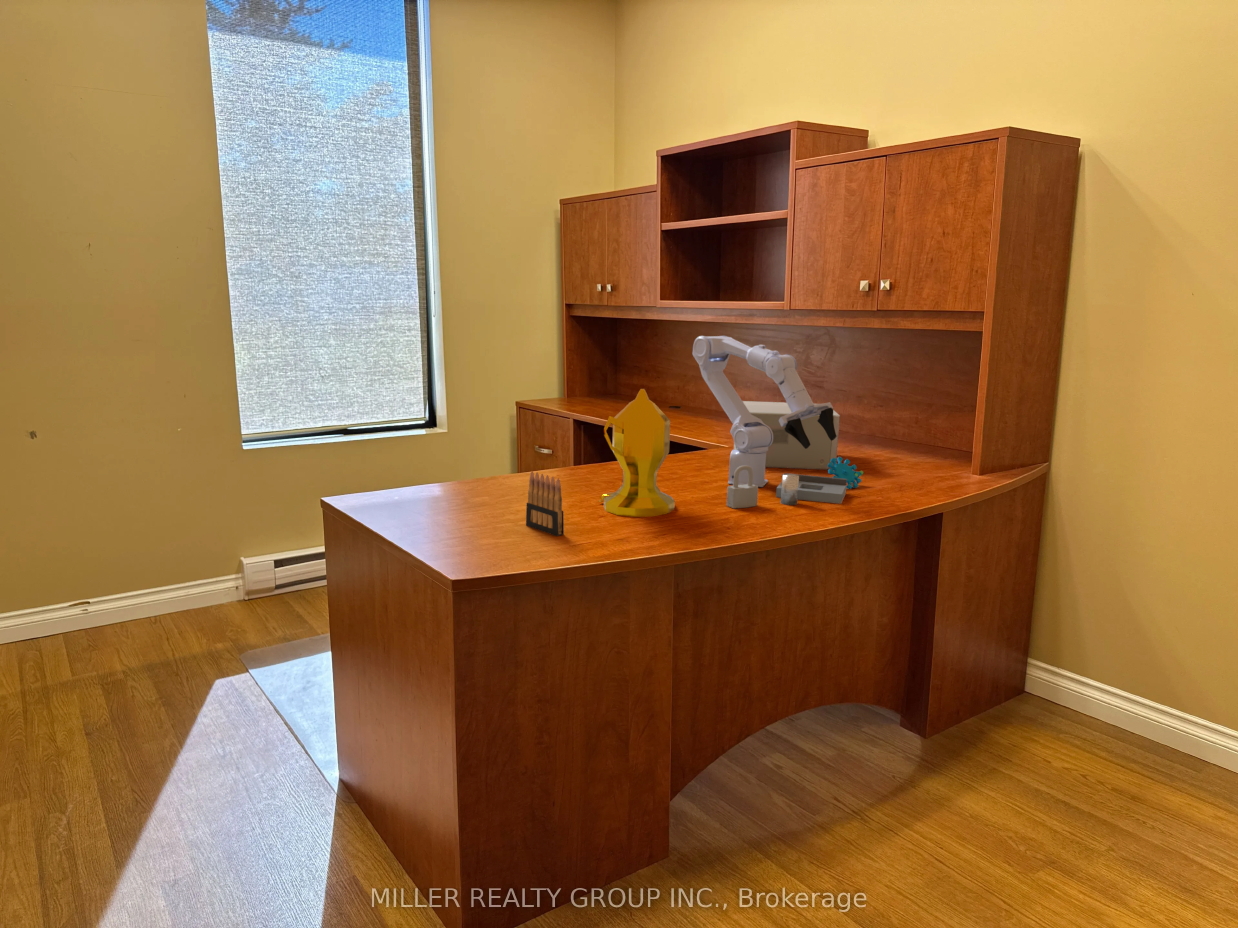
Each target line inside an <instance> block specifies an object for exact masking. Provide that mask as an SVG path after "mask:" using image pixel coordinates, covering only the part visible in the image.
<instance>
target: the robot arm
mask: <svg viewBox="0 0 1238 928" xmlns="http://www.w3.org/2000/svg"><path fill="white" fill-rule="evenodd" d="M731 355H732V356H735V357H739V358H741V359H743V360H744V359H745V360H746V363H747V364H748V366H750V367H752V368H755V369H756V370H759V371H762V372H764V373H765V375H766V376H767V377H768V378H770V379H772V380H773V381H774V383H775V384H776V385H777V387H778V388H779V390H780V392H781V394H782V396H783V397H784V400H785V403H787V404H788V406H789V408H790V410H791V412H792V413H790V414H788V415H785V416H782V417H781V418H780V419H779V420H778V421H779V423H780V425H781V426H782V427H783V426H786V427H785V428H784V429H785V431H786V432H787V433H789V434H790V435H792V436H793V437H794V438H796V439H797V440H798V441H799V442H800V443H801V444H802V446H803V447H804V448H805V449H807V448H808V447H809V446H810V442H809V439H808V437H807V436H806V434H805V431H804V429H803V426H802V423H801V420H803V419H806V418H809V417H813V416H816V415H820V416H819V419H818V420H817V421H818V422H819V423H820V425H821V426H822V427H823V428H824V430H825V431H826V433H827V435H828V437H829V439H830V440H831V441H832V440H834V439H835V438H836V437H837V436H836V433H835V428H834V423H833V410H834V406H833V404H832V403H831V401H829V402H825V403H814V402H813V400H812V397H811V396H810V394H809V393H808V392H809V391H808V390H807V388H806V387H805V385H804V383H803V381H802V379H801V376H799V373H798V371H797V369H798V363H797V360H796V358H795V357H794V356H793V355H791V354H790V353H787V354H781V353H780V352H779V351H778V350H771V349H769V348H767V347H766V345H765V344H758V345H754V346H752V347H751V346H749V345H747V344H744V343H743V342H740V341H738V340H737V339H734V338H733V337H731V336H727V335H719V336H718V335H717V336H716V335H715V336H714V335H713V336H712V335H711V336H708V335H707V336H706V335H699V336H697V337H696V338H695V339H694V341H693V345H692V356H693V358H694V359H695V361H696V362H697V364H698V365H699V366H698V367H699V371H700V373H701V377H702V379H703V380H704V382H705V383H706V385H707V386H708V388H709V390H710V391H711V392H712V394H713V396H714V397H715V399H716V400H717V402H718V404H719V405H720V407H721V409H722V410H723V411H724V413H725V414H726V415H727V417H728V419H729V420H730V422H731V423H732V425H731V429H730V431H729V432H730V434H731V436H732V439H733V445H734V444H735V446H736V447H737V450H734V449H732V450H731V452H730V455H729V462H728V463H729V465H728V482H727V484H729V485H733V483H734V472H735V470H736V469H737V468H738V467H740V466H743V465H746V466H749V467H751V469H752V471H753V483H752V485H755V486H758V488H763V487H764V486H765V485H766V484H767V483H768V482H769V480H768V479H766V467H765V465H766V451H768V447H769V446H770V445H771V444H772V442H773V432H772V430H771V428H770V427H769V426H767V425H765V424H764V423H763V422H762V420H761V419H759V418H757V417H755V416H753V415H751V413H750V412H749V410H748V409H747V407H746V406H745V404H744V403H743V401H744V400H742V399H741V397H740V395H739V394H738V392H737V390H735V388H734V386H733V385H732V384H731V381H729V379H728V377H727V376H726V374H725V372H724V370H725V369H726V367H727V364H728V362H729V358H730V356H731ZM742 484H748V471H747V470H742V471H740V473H739V477H738V485H742Z"/></svg>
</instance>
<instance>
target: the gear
mask: <svg viewBox="0 0 1238 928" xmlns="http://www.w3.org/2000/svg"><path fill="white" fill-rule="evenodd" d="M843 460H844V458H843V457H842V456H838V457H837V460H836V458H832V459H831V462H830V463H829V464H828V465H827V466H828V467H830V468H831V469H829V470H827V473H828V474H829V475H833V476H832V478H842V479H847V484H846V490H851V489H852V488H853V489H856V488H858V487H859V484H860V483H861V482H862V479H861V478H859V477H862V476H863V474H864V471H863V470H860V471H857V470H856V469H857V465H856V464H852V465H849V464H850V463H851V461H850V460H849V459H848V458H846V459H845V460H844V461H843ZM842 461H843V463H842ZM833 464H834V466H835V467H834V466H833ZM832 469H833V470H832Z"/></svg>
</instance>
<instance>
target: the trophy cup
mask: <svg viewBox="0 0 1238 928" xmlns="http://www.w3.org/2000/svg"><path fill="white" fill-rule="evenodd" d="M610 425H612V442H611V439H610V436H609V435H608V433H607V430H608V428H609V426H610ZM603 427H604V428H603V436H604V438H605V440H606V442H607V444H608V446H609V448H610V450H611V451H612V453H613V455H614V457H615V459H616V460H617V462H618V464H619V466H620V468H621V469H622V472H623V473H622V474H623V475H622V484H621V485H620V487H619V488H618V489H617V490H616V491H614V492H613V491H610V492H607V493H604V494H601V496H600V497H601V498H600V500H598V501H597V502H598V503H599V502H600V503H601V502H603V508H604V511H605V512H607V513H610V514H612V515H616V516H621V517H631V518H646V517H647V518H648V517H657V516H662V515H667V514H670V513H671V512H672V511H674V510H675V505H676V503H675V499H674V498H673V497H672V496H671V495H669V494H667V493H665V492H662V491H661V490H660V488H659V487H658V485H657V478H658V477H657V475H658V474H657V473H658V471H659V470H660V469H661V466H662V465H663V463H664V461H665V460H666V458H667V457H668V455H669V453H670V440H671V439H670V438H671V437H670V435H671V419H670V418H669V417H668V416H667V415H666V414H665V413H664V412H663V410H661V409H660V408H659V406H658V405H656V403H655V402H653V401H652V400H650V398H649V396H648V394H647V392H646V389H645V388H640V390H639V391H638V393H637V394H636V397H635V399H633V400H631V401H630V402H628V404H626V406H625V407H624V408H623V409H621V410H620V411H619V412H618V413H617V414H616V415H615V416H614V417H613V416H611V415H609V416H608V419H607V420H606V423H605V425H604V426H603Z"/></svg>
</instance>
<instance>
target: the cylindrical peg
mask: <svg viewBox="0 0 1238 928" xmlns="http://www.w3.org/2000/svg"><path fill="white" fill-rule="evenodd" d="M796 474H797V473H789V474H784V473H782V477H781V482H782V488H781V498H780V504H781V505H785V506H796V505H798V500H799V499H798V484H799V475H800V474H799V475H796Z"/></svg>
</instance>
